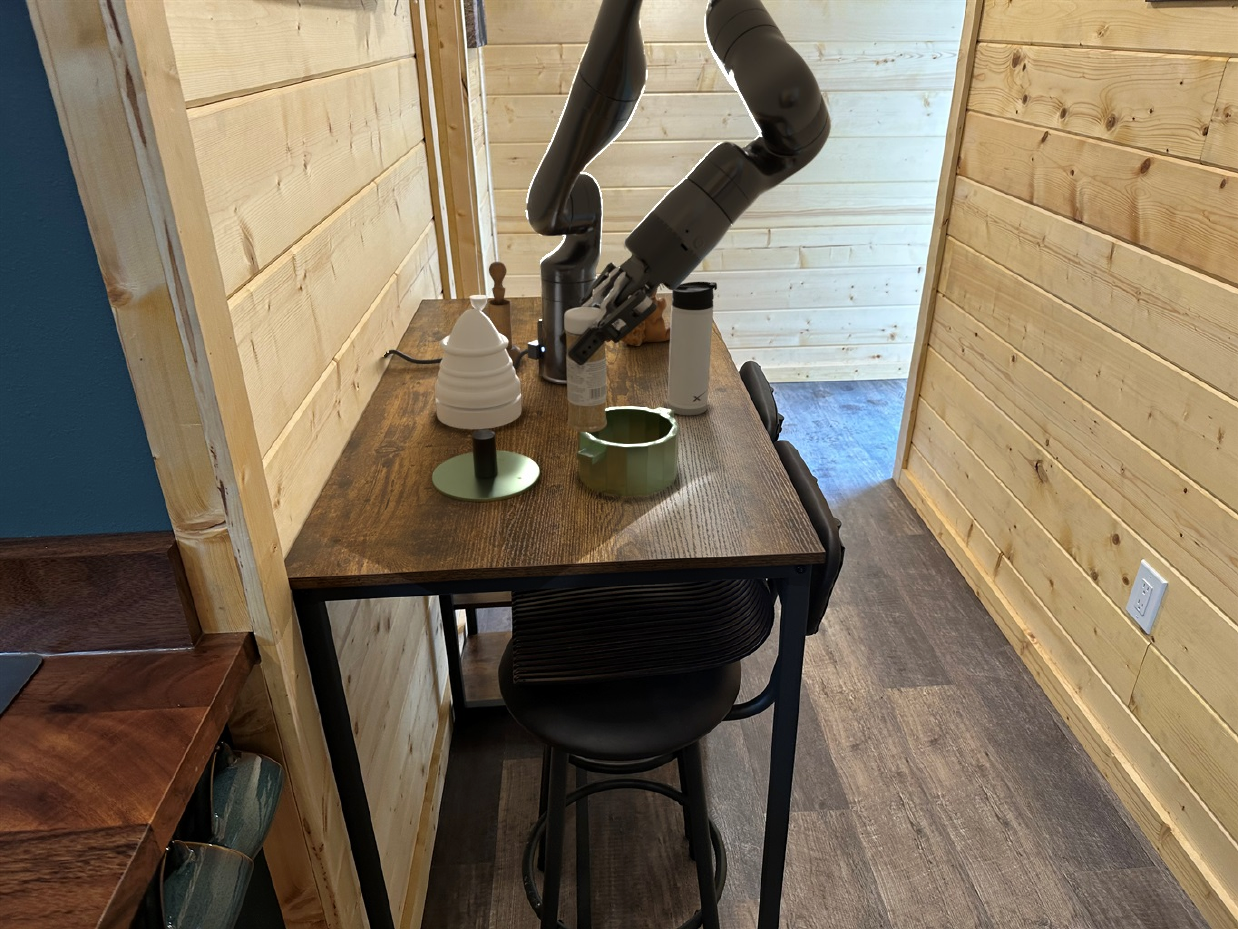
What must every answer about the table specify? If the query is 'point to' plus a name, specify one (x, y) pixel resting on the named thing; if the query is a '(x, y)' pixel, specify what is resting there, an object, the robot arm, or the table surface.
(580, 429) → the sprinkles bottle
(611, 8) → the robot arm
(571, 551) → the table surface
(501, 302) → the mortar and pestle
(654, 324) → the stuffed squirrel
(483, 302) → the honey pot
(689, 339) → the travel mug
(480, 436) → the lid
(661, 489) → the pot
